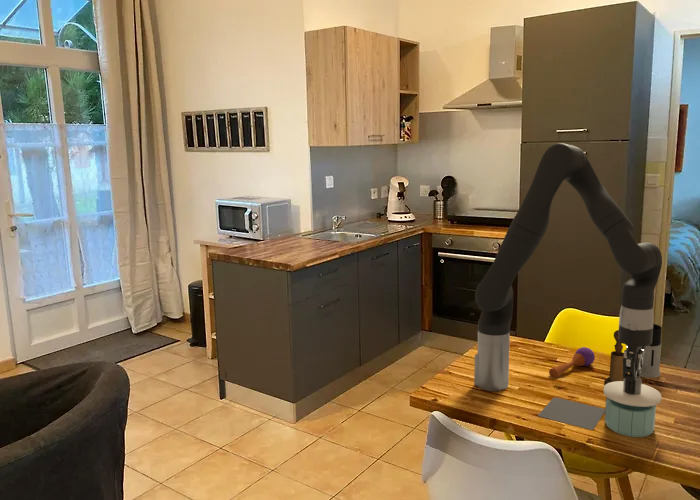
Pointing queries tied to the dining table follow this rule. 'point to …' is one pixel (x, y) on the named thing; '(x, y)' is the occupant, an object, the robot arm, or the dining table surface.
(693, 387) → the dining table surface
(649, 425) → the cup
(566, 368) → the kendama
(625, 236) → the robot arm
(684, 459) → the dining table surface
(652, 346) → the glass holder
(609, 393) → the lid
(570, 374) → the dining table surface
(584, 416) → the mat
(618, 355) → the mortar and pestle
